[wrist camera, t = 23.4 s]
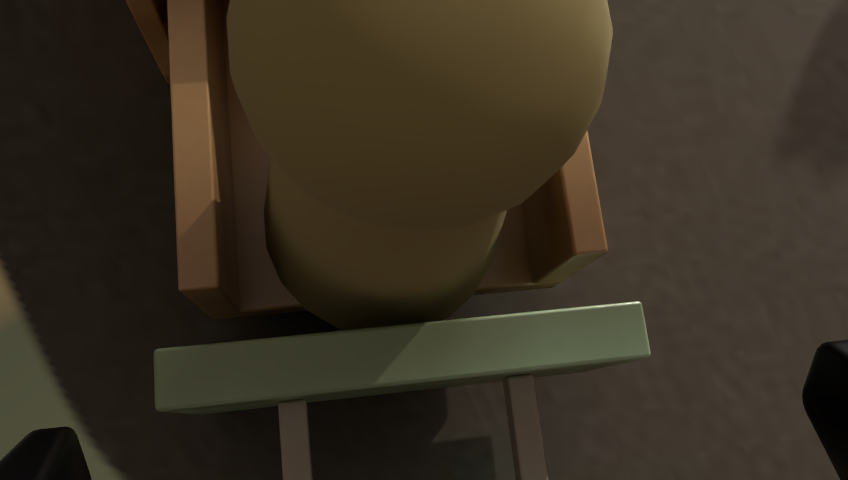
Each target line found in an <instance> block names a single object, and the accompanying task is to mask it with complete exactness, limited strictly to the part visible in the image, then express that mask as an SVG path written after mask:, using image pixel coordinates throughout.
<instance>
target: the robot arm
mask: <svg viewBox="0 0 848 480" xmlns="http://www.w3.org/2000/svg"><path fill="white" fill-rule="evenodd" d="M802 398H803V404H804V408H805V411H806V413H807V415H808V417H809V419H810V421H811V423H812V425H813V427H814V429H815V431H816V433H817V435H818V437H819V438H820V440H821V442H822V444H823V446H824V448H825V450H826V452H827V454H828V456H829V458H830V460H831V462H832V464H833V466H834V468H835V470H836V472H837V474H838V476H839V478H840V480H848V340H842V341H833V342H826V343H823V344H822V345H821V346H820V347H819V348H818V349H817V351H816V353H815V356H814V359H813V362H812V365H811V367H810V370H809V373H808V376H807V379H806V382H805V385H804V388H803V393H802ZM0 480H91V476H90V473H89V470H88V467H87V464H86V461H85V458H84V455H83V452H82V449H81V446H80V443H79V440H78V437H77V434H76V433H75V431H74V430H73V429H72V428H69V427H58V428H48V429H39V430H35V431H32V432H31V433H29V434H28V435H27V436H25V437H24V438H23V439H22V441H20V442H19V443H18V444H17V445H16V446H15V447H14V448H13V449H12V450H11V451H10V452H9V453H8V454H7V455H6V456H5V457H4V458H3V459H2V460H1V461H0Z"/></svg>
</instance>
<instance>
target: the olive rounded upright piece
mask: <svg viewBox="0 0 848 480" xmlns="http://www.w3.org/2000/svg"><path fill="white" fill-rule="evenodd" d="M226 19H227V34H228V50H229V65H230V75H231V78H232V81H233V84H234V87H235V90H236V93H237V95H238V97H239V100H240V102H241V104H242V107H243V109H244V111H245V113H246V116H247V118H248V120H249V123H250V125H251V127H252V130H253V132H254V134H255V136H256V139H257V141H258V143H259V145H260V146H261V147H262V149H263V150H264V151H265V152H266V153H267V154H268V155H269V156H270V157H271V159H270V167H269V175H268V182H267V190H266V198H265V205H264V223H265V237H266V248H267V251H268V253H269V255H270V258H271V260H272V262H273V265H274V267H275V269H276V272H277V274H278V276H279V279H280V281H281V283H282V284H283V285H284V286H285V287H286V288H287V289H288V290H289V292H290V293H291V294H292V295H293V296H294V297H295V298H296V299H297V301H298V302H299V303H300V304H301V305H302V306H303V307H304V308H305V310H307V311H309V312H310V313H312V314H314V315H316V316H317V317H319V318H321V319H322V320H324V321H326V322H328V323H329V324H331V325H333V326H335V327H336V328H338V329H341V330H352V329H362V328H372V327H383V326H393V325H403V324H413V323H423V322H433V321H441V320H444V319H446V318H448V317H449V316H450V315H451V314H452V313H453V312H454V311H456V310H457V309H458V308H459V307H460V306H461V305H462V304H463V303H464V302H465V301H466V300H467V299H469V298H470V297H471V296H472V295H473V294H474V293H475V291H476V289H477V288H478V286H479V284H480V282H481V280H482V278H483V277H484V275H485V273H486V271H487V269H488V268H489V266H490V264H491V262H492V259H493V256H494V252H495V249H496V246H497V242H498V239H499V236H500V232H501V229H502V226H503V223H504V219H505V216H506V213H507V210H508V209H510V208H513V207H515V206H517V205H520V204H521V203H523V202H524V201H525V200H526V199H527V198H528V197H529V196H530V195H531V194H533V193H534V192H535V191H536V190H537V189H538V188H539V187H540V186H541V185H543V184H544V183H545V182H546V181H547V180H548V179H549V178H550V177H551V176H553V175H554V174H555V173H556V172H557V171H558V170H559V169H560V168H561V167H562V166H563V165H564V164H565V163H566V162H567V161H568V160H569V159H570V158H571V157H572V156H573V155H574V154H575V152H576V150H577V148H578V146H579V144H580V143H581V141H582V139H583V137H584V135H585V133H586V131H587V130H588V128H589V126H590V124H591V122H592V120H593V118H594V117H595V115H596V113H597V111H598V109H599V107H600V105H601V101H602V97H603V92H604V88H605V83H606V76H607V69H608V63H609V56H610V49H611V42H612V36H613V29H612V24H611V18H610V13H609V8H608V3H607V0H230V2H229V7H228V12H227V17H226Z"/></svg>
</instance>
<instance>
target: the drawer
mask: <svg viewBox="0 0 848 480" xmlns="http://www.w3.org/2000/svg"><path fill="white" fill-rule="evenodd" d="M229 2H230V0H167V12H168V38H169V64H170V89H171V115H172V141H173V166H174V192H175V217H176V243H177V269H178V289H179V291H180V292H181V293H182V294H184V295H185V296H186V297H187V298H188V299H190V300H191V301H192V302H193V303H194V304H196V305H197V306H198V307H199V308H200V309H201V310H203V311H204V312H205V313H206V314H207V315H209V316H211V317H212V318H213V319H225V318H236V317H246V316H257V315H267V314H278V313H288V312H299V311H307V310H305V308H304V307H303V306H302V305H301V304H300V303H299V302H298V301H297V299H296V298H295V297H294V296H293V295H292V294H291V293H290V292H289V290H288V289H287V288H286V287H285V286H284V285H283V284H282V283H281V281H280V279H279V276H278V274H277V272H276V269H275V267H274V265H273V262H272V260H271V258H270V255H269V253H268V251H267V248H266V237H265V223H264V205H265V198H266V190H267V182H268V175H269V167H270V159H271V157H270V156H269V155H268V154H267V153H266V152H265V151H264V150H263V149H262V147H261V146H260V145H259V143H258V141H257V139H256V136H255V134H254V132H253V130H252V127H251V125H250V123H249V120H248V118H247V116H246V113H245V111H244V109H243V107H242V104H241V102H240V100H239V97H238V95H237V93H236V90H235V87H234V84H233V81H232V78H231V75H230V65H229V50H228V34H227V19H226V17H227V12H228V7H229ZM607 250H608V248H607V242H606V237H605V231H604V225H603V219H602V213H601V208H600V202H599V196H598V190H597V184H596V178H595V173H594V167H593V161H592V155H591V149H590V144H589V138H588V132H587V131H586V133H585V135H584V137H583V139H582V141H581V143H580V144H579V146H578V148H577V150H576V152H575V154H574V155H573V156H572V157H571V158H570V159H569V160H568V161H567V162H566V163H565V164H564V165H563V166H562V167H561V168H560V169H559V170H558V171H557V172H556V173H555V174H554V175H553V176H551V177H550V178H549V179H548V180H547V181H546V182H545V183H544V184H543V185H541V186H540V187H539V188H538V189H537V190H536V191H535V192H534V193H533V194H531V195H530V196H529V197H528V198H527V199H526V200H525V201H524V202H523V203H521V204H520V205H517V206H515V207H513V208H510V209H508V210H507V213H506V216H505V219H504V223H503V226H502V229H501V232H500V236H499V239H498V242H497V246H496V249H495V252H494V256H493V259H492V262H491V264H490V266H489V268H488V269H487V271H486V273H485V275H484V277H483V278H482V280H481V282H480V284H479V286H478V288H477V289H476V291H475V293H474V294H473V295H478V294H489V293H499V292H510V291H520V290H531V289H541V288H552V287H554V286H555V285H557V284H558V283H560V282H561V281H563V280H565V279H566V278H568V277H569V276H571V275H573V274H574V273H576V272H577V271H579V270H580V269H582V268H584V267H585V266H587V265H588V264H590V263H591V262H593V261H594V260H596V259H598V258H599V257H601V256H602V255H604V254H605V253H607ZM650 355H651V352H650V347H649V341H648V336H647V330H646V324H645V319H644V313H643V308H642V304H641V302H638V301H635V302H625V303H615V304H605V305H595V306H585V307H574V308H564V309H554V310H544V311H534V312H524V313H514V314H504V315H494V316H484V317H473V318H463V319H453V320H443V321H433V322H423V323H413V324H403V325H393V326H383V327H372V328H362V329H352V330H342V331H332V332H322V333H312V334H302V335H292V336H282V337H271V338H261V339H251V340H241V341H231V342H221V343H211V344H201V345H191V346H180V347H170V348H160V349H156V350H155V351H154V354H153V357H154V389H155V408H156V410H157V411H160V412H173V413H187V414H210V413H219V412H228V411H237V410H246V409H255V408H264V407H273V406H278V415H279V430H280V445H281V460H282V475H283V480H313V473H312V459H311V446H310V433H309V420H308V407H307V403H309V402H318V401H327V400H336V399H345V398H354V397H363V396H372V395H381V394H390V393H399V392H408V391H417V390H426V389H435V388H444V387H453V386H462V385H471V384H480V383H489V382H498V381H503V386H504V393H505V401H506V408H507V416H508V423H509V431H510V438H511V446H512V453H513V460H514V468H515V475H516V480H548V475H547V468H546V461H545V454H544V447H543V440H542V433H541V426H540V419H539V412H538V405H537V398H536V391H535V384H534V377H543V376H552V375H561V374H570V373H579V372H584V371H589V370H594V369H598V368H603V367H608V366H612V365H617V364H622V363H627V362H631V361H636V360H641V359H645V358H648V357H650Z"/></svg>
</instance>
